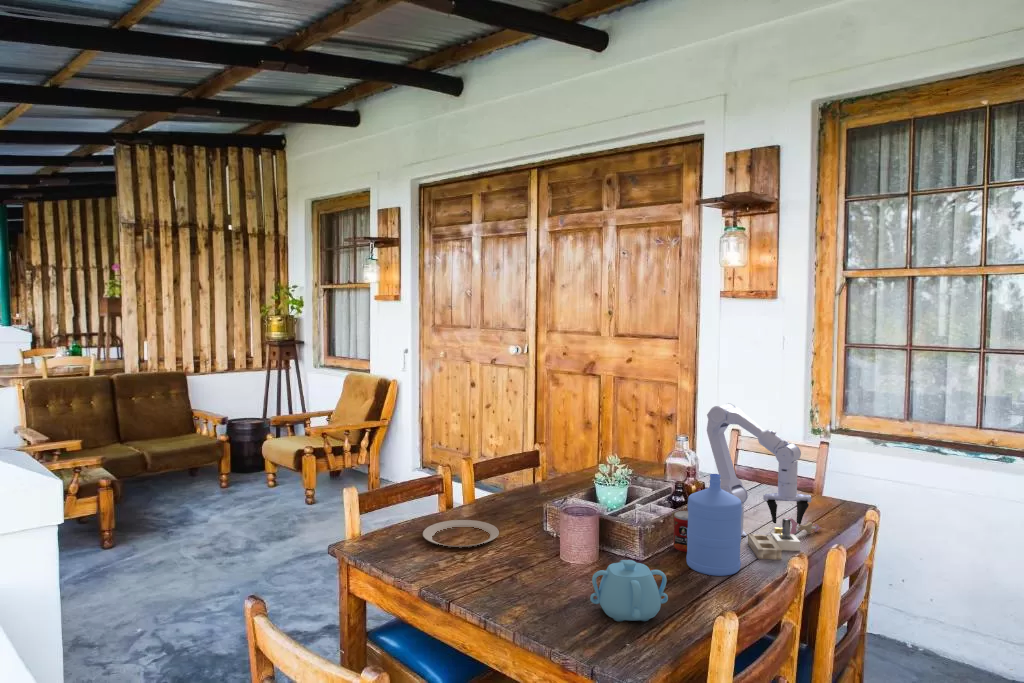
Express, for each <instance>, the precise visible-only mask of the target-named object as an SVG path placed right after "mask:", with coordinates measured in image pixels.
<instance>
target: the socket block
mask: <svg viewBox="0 0 1024 683" xmlns="http://www.w3.org/2000/svg"><path fill="white" fill-rule="evenodd" d="M770 536H771V537H772V538H773V539H774V541H775V542H776V543H777V545H778V546H779V547H780V549H781V550H782V551H792V552H793V551H794V552H795V551H796V552H797V551H798V552H800V551H801V541H800V539H799V538H798V537H797V536H796V535H795V534H790V540H784V539H782V538H781V535H780V534H774V531H773V532H770Z"/></svg>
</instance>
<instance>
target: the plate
mask: <svg viewBox="0 0 1024 683" xmlns="http://www.w3.org/2000/svg"><path fill="white" fill-rule="evenodd" d="M452 527H474V528H479V529H482V530H484V531H483V532H485V531H486V532H488V533H489V534H490V536H489V538H488V539H487V540H485V541H482V542H480V543H476V544H468V545H466V544H465V545H449V544H444V543H440V542H437V541H435V540H434V539H433V537H432V536H435V533H436V532H437V531H439V532H441V531H440V530H442V531H444V530H443V529H446V530H448V529H447V528H451V529H453V528H452ZM474 528H473V529H474ZM479 529H478V530H479ZM482 530H481V531H482ZM486 532H485V533H486ZM437 533H438V532H437ZM437 533H436V534H437ZM488 533H487V534H488ZM489 534H488V535H489ZM499 535H500V531H499V529H498V528H497V527H496V526H495V525H493V524H491V523H489V522H485V521H480V520H474V519H472V520H471V519H452V520H445V521H444V520H443V521H440V522H437V523H433V524H432V525H429V526H427V527H426V528H425V529H424V530H423V532H422V537H423V538H424V539H425V540H426V541H428V542H430V543H432V544H435V545H438V544H439V545H438V546H440V545H443V546H442V547H444V546H448V547H447V548H451V547H459V548H458V549H463V548H462V547H468V548H473V547H472V546H474V547H478V546H477V545H479V546H481V545H480V544H482V545H484V544H487V543H488V542H491V541H493V540H494V539H496V538H497V537H499ZM483 543H484V544H483Z"/></svg>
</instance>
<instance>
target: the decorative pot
mask: <svg viewBox="0 0 1024 683" xmlns="http://www.w3.org/2000/svg"><path fill="white" fill-rule="evenodd" d="M654 575H658V576H661V578H662V580H661V584H660V586H658V585H657V582H656V580H655V577H654ZM600 576H602V577H601V580H600V582H599V587H598V582H597V578H598V577H600ZM591 578H592V579H591V582H592V585H593V589H594V592H593V593H591V594H590V598H589V599H590V602H591V603H592V604H594V605H600V607H601V609H602V610H603V612H604V613H605V614H606V615H607V616H608V617H610V618H612V619H613V620H614V621H616V622H623V621H641V622H648V621H649V620H651V619H654V617H656V615H657V614H658V613H659V611H660V610H661V608H662V607H661V606H662V604H663V605H664V604H666V603H667V602H668V600H669V596H668V594H667V593H665V592H664V591H665V588H666V585H667V582H668V581H667V580H668V579H667V575H666V574H665V573H664V572H663V571H662V570H659V569H651V570H650V568H649V567H648V566H647V565H646V564H644V563H640V562H637V561H635V560H632V559H621V560H619V562H613V563H611V564H610V563H609V565H608V566H607V568H606V569H605V570H604V569H602V570H601V569H600V570H597V571H596V572H594V574H593V575H592V577H591ZM594 597H596V598H594ZM662 597H664V598H662Z"/></svg>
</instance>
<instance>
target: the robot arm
mask: <svg viewBox="0 0 1024 683" xmlns="http://www.w3.org/2000/svg"><path fill="white" fill-rule="evenodd" d="M706 416H707V425H706V433H707V437H708V440H709V444H710V448H711V451H712V455H713V458H714V462H715V465H716V469H717V472H718V473H717V474H719V475H721V477H720V481H721V483H720V488H721V489H722V490H724V491H726V492H728V493H730V494H732V495H734V496H736V497H738V498H739V499H740V500H741V503H742V504H741V506H742V515H741V537H746V536H747V532H745V530H744V516H745V514H744V513H745V502H747V500H748V496H749V495H748V491H747V489H746V488H745V487H744V486H743V482H742V480H740V478H738V477H737V473H736V470H735V468H734V462H733V461H732V457H731V453H730V450H729V446H728V442H727V440H726V436H725V431H726V430H727V429H728V427H729V426H730V425H737V426H739V427H741V428H742V429H743V430H745V431H747V432H748V433H750V434H751V435H753V436H754V437H756V438H757V441H758V444H759V445H761V446H762V447H764V448H765V449H766V450H767V451H769V452H770V453H772V454H773V455H775V456H774V457H775V459H776V460H777V462H778V472H777V474H778V477H777V492H769V493H763V496H762V499H763V501H765V502H766V504H767V506H768V509H769V511H770V515H771V520H772V521H771V522H772V524H777V511H778V503H777V502H778V501H779V502H796V523H798V525H799V524H800V525H802V520H803V517H804V515H805V513H806V511H807V509H808V508H809V506H810V505H809V503H812V496H811V495H810V494H801V493H798V465H799V464H798V460H799V459H800V458H801V456H802V453H801V452H802V451H801V449H800V448H799V446H798V445H797V444H796V443H791V442H789V441H788V440H787V439H783V437H780V436H779V435H778V434H777V431H775V430H774V429H773V430H771V429H764V428H763V427H761V426H760V425H759V424H757V422H755V421H754V420H753V419H751V417H749V416H748V415H747V414H746V413H744V412H743V410H742V409H741V408H739V407H737V406H736V405H735V404H733V403H725V404H722V405H715V406H713V407H711V408H710V410H709V411H708V412H707V414H706Z"/></svg>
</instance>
